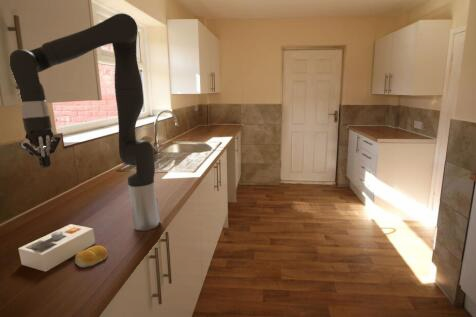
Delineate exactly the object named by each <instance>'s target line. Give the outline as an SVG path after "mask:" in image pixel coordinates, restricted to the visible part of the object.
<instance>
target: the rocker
mask: <svg viewBox="0 0 476 317" xmlns="http://www.w3.org/2000/svg"><path fill="white" fill-rule="evenodd" d="M53 241H54V240H53V238H50V239H48V240H46V241H44V242H42V243H39V244H37V245H35V246H33V247H31V248H30V249H32V250H37V249H39V248H41V247H43V246H45V245H47V244H49V243H51V242H53Z"/></svg>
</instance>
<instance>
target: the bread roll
mask: <svg viewBox="0 0 476 317" xmlns="http://www.w3.org/2000/svg"><path fill="white" fill-rule="evenodd" d="M74 256H75V258H74V263H75V265H77V266H78V267H80V268H87V267H88V268H89V267H91V266H94V265H97V264H98V263H102V262H103V261H105V259H106V258H107V256H108V250H107V249H106V248H105V247H104V246H103V245H92V246H90V247H88V248H86V249H84V250H83V251H80V252H79V253H77V254H76V255H74Z"/></svg>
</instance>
